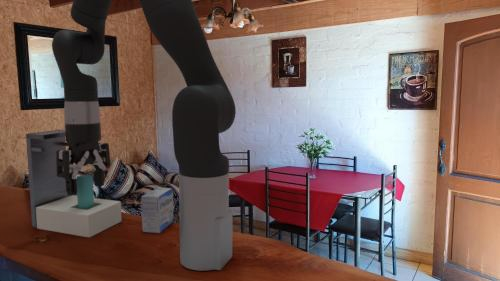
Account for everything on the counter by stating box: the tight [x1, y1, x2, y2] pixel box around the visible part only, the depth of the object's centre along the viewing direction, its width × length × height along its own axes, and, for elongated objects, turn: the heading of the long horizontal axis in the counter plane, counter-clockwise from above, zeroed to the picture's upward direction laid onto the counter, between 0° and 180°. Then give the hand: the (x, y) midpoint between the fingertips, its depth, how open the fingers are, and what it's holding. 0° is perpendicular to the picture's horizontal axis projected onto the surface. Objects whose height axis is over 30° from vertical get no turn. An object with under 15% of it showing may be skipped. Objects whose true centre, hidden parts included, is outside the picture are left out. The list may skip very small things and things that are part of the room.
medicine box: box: [141, 187, 174, 234], centre depth 89 cm, size 8×4×9 cm, turn 168°
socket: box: [36, 195, 122, 238], centre depth 90 cm, size 15×11×5 cm
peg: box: [75, 174, 95, 210], centre depth 88 cm, size 4×4×12 cm
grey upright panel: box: [25, 129, 69, 228], centre depth 91 cm, size 5×10×22 cm, turn 161°
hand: (86, 190), depth 88 cm, fingers open, 8 cm apart
